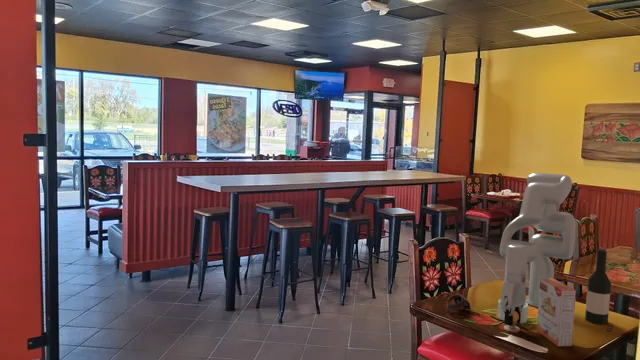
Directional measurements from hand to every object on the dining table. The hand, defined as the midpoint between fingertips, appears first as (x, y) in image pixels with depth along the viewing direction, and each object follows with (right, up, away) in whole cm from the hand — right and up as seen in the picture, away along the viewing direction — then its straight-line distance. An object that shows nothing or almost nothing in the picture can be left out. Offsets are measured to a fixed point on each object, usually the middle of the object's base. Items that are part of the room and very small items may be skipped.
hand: (512, 322), depth 185 cm
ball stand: (0, -3, 0) cm, 3 cm away
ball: (0, +3, 0) cm, 3 cm away
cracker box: (+12, -4, -8) cm, 15 cm away
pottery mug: (-15, -1, +19) cm, 24 cm away
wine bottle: (+39, -3, +12) cm, 41 cm away
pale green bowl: (+5, -2, +12) cm, 13 cm away
